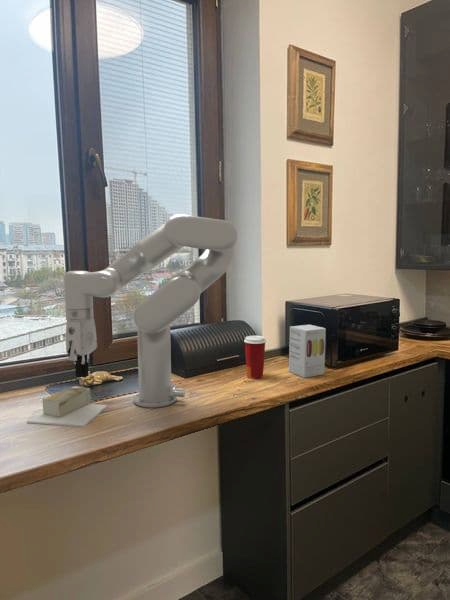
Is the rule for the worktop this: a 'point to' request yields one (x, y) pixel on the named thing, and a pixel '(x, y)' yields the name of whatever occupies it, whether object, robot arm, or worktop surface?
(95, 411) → the mat
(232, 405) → the worktop surface
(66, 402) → the skincare box
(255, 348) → the paper cup
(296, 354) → the supplement box
